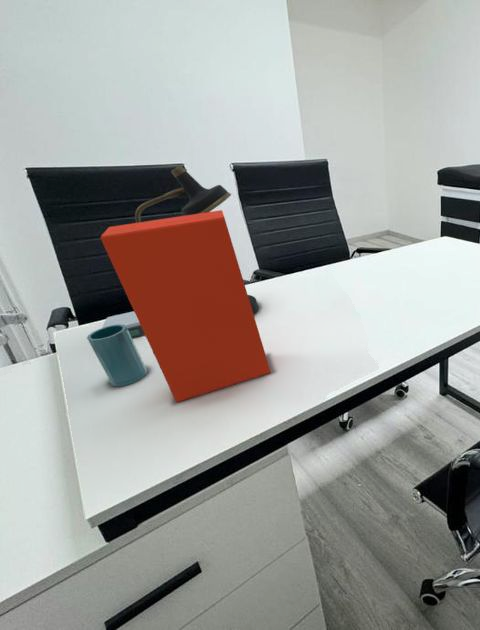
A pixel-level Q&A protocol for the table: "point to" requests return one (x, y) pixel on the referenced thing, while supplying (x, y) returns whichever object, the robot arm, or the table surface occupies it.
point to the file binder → (189, 300)
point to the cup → (117, 354)
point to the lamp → (195, 202)
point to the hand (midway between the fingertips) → (16, 326)
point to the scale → (126, 323)
